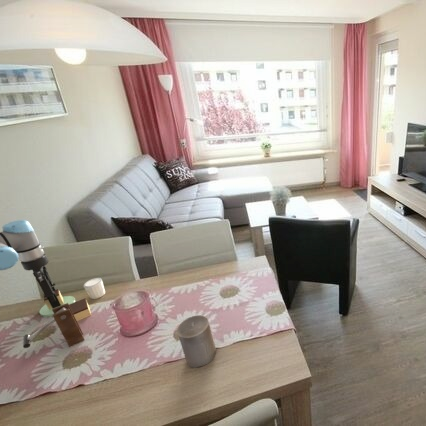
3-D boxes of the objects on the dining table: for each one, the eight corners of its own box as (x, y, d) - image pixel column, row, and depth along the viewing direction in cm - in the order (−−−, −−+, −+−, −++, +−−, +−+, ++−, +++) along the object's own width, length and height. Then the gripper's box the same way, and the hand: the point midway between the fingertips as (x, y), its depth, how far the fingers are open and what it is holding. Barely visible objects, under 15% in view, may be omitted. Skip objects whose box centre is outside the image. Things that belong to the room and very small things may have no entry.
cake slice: (48, 309, 123) (43, 299, 121) (48, 303, 126) (43, 294, 124) (63, 303, 126) (59, 294, 124) (63, 298, 129) (58, 288, 127)
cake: (68, 327, 115) (62, 317, 113) (66, 317, 121) (61, 307, 119) (92, 317, 120) (87, 307, 118) (89, 307, 126) (85, 298, 124)
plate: (40, 321, 119) (39, 319, 119) (40, 306, 128) (39, 305, 127) (77, 306, 127) (76, 304, 126) (74, 294, 135) (73, 292, 134)
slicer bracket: (61, 357, 103) (42, 322, 96) (59, 343, 108) (41, 310, 102) (95, 340, 109) (79, 307, 102) (92, 329, 114) (77, 297, 108)
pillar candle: (203, 340, 107) (194, 308, 101) (222, 350, 102) (214, 318, 96) (180, 360, 99) (169, 327, 93) (199, 373, 94) (189, 338, 88)
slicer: (27, 349, 96) (20, 346, 95) (27, 340, 100) (20, 336, 99) (70, 315, 102) (64, 312, 101) (68, 308, 106) (63, 304, 104)
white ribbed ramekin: (96, 301, 130) (90, 288, 127) (85, 298, 132) (79, 285, 129) (110, 291, 135) (105, 279, 133) (99, 288, 138) (94, 276, 135)
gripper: (45, 262, 113) (69, 309, 122) (44, 246, 125) (65, 289, 135) (19, 270, 108) (45, 318, 118) (20, 252, 121) (44, 297, 130)
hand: (56, 303), depth 126 cm, fingers closed on cake slice, 5 cm apart
